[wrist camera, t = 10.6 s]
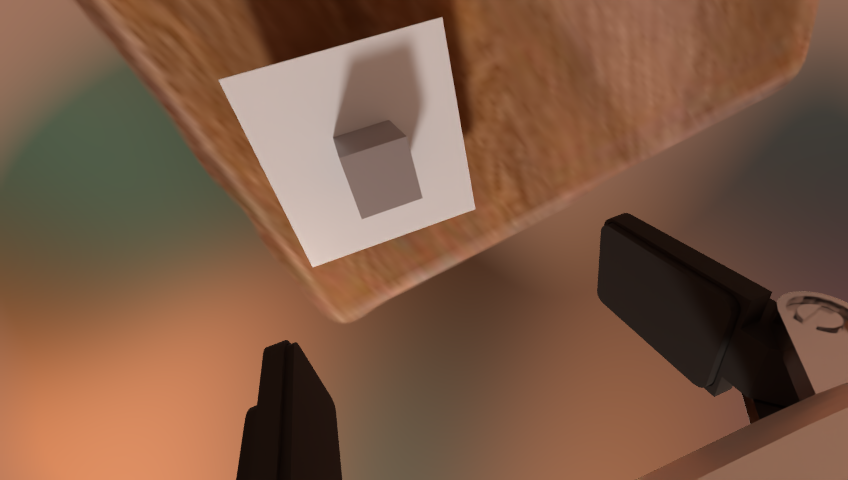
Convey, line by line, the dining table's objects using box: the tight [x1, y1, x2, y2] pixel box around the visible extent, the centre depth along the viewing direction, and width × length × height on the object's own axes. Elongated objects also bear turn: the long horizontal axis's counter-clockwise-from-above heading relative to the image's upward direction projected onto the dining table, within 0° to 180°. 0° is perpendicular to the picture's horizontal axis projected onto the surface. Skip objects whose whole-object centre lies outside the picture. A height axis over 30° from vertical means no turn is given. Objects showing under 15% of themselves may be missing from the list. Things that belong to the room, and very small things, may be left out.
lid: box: [219, 17, 475, 267], centre depth 24 cm, size 14×14×6 cm
